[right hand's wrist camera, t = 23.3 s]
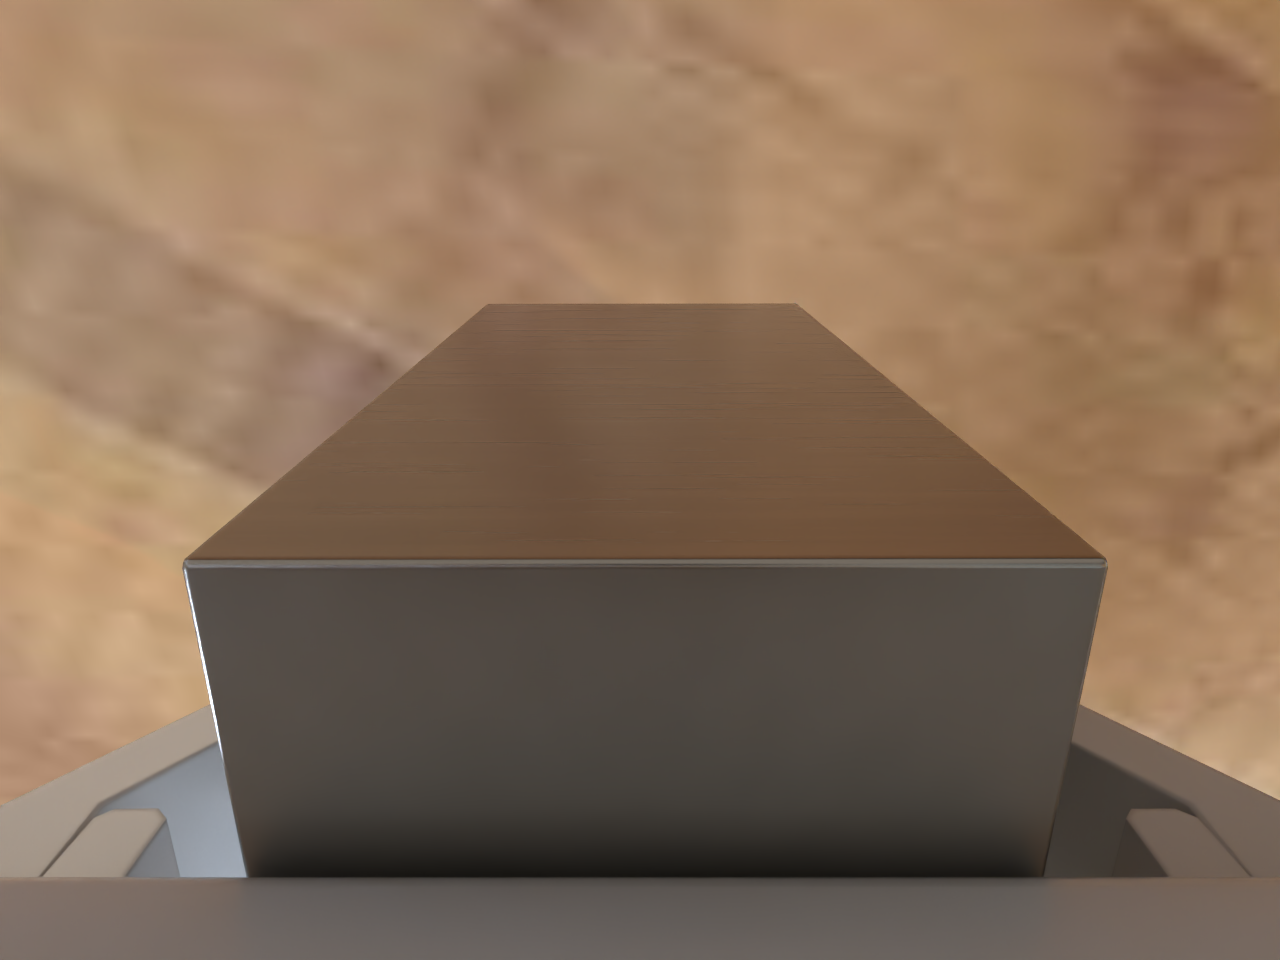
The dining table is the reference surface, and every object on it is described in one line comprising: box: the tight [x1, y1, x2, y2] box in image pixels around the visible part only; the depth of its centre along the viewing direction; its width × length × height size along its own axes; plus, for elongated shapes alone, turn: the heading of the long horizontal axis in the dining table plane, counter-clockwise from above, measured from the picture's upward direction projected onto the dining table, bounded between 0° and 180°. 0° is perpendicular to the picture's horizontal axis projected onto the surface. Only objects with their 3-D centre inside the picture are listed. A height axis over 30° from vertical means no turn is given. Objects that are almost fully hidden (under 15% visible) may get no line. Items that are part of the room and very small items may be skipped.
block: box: [183, 304, 1108, 877], centre depth 11 cm, size 5×8×10 cm, turn 0°
